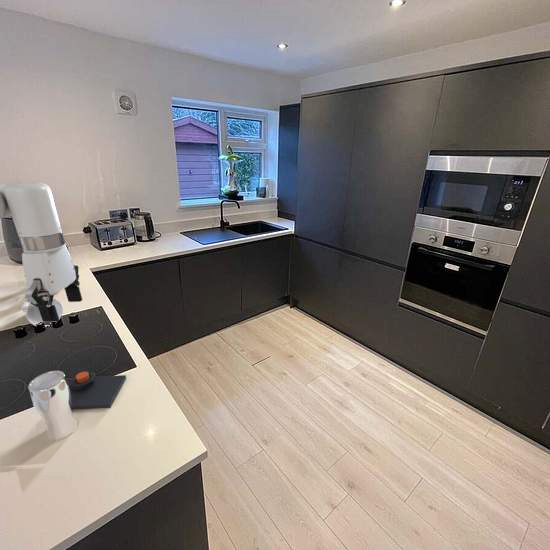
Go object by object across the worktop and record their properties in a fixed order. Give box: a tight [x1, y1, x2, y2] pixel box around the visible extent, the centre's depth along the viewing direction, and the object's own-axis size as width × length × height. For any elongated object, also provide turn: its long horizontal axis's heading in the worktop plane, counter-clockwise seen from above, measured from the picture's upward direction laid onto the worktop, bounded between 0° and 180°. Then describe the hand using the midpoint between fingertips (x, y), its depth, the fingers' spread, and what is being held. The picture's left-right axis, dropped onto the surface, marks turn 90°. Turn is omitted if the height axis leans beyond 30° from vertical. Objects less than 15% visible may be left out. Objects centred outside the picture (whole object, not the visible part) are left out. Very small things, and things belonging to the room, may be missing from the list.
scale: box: [70, 370, 127, 411], centre depth 80 cm, size 14×12×3 cm
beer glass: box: [27, 370, 79, 441], centre depth 67 cm, size 7×7×15 cm
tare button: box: [75, 371, 89, 383], centre depth 82 cm, size 3×3×2 cm
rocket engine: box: [20, 297, 64, 328], centre depth 116 cm, size 12×12×18 cm
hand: (64, 310), depth 69 cm, fingers open, 9 cm apart
